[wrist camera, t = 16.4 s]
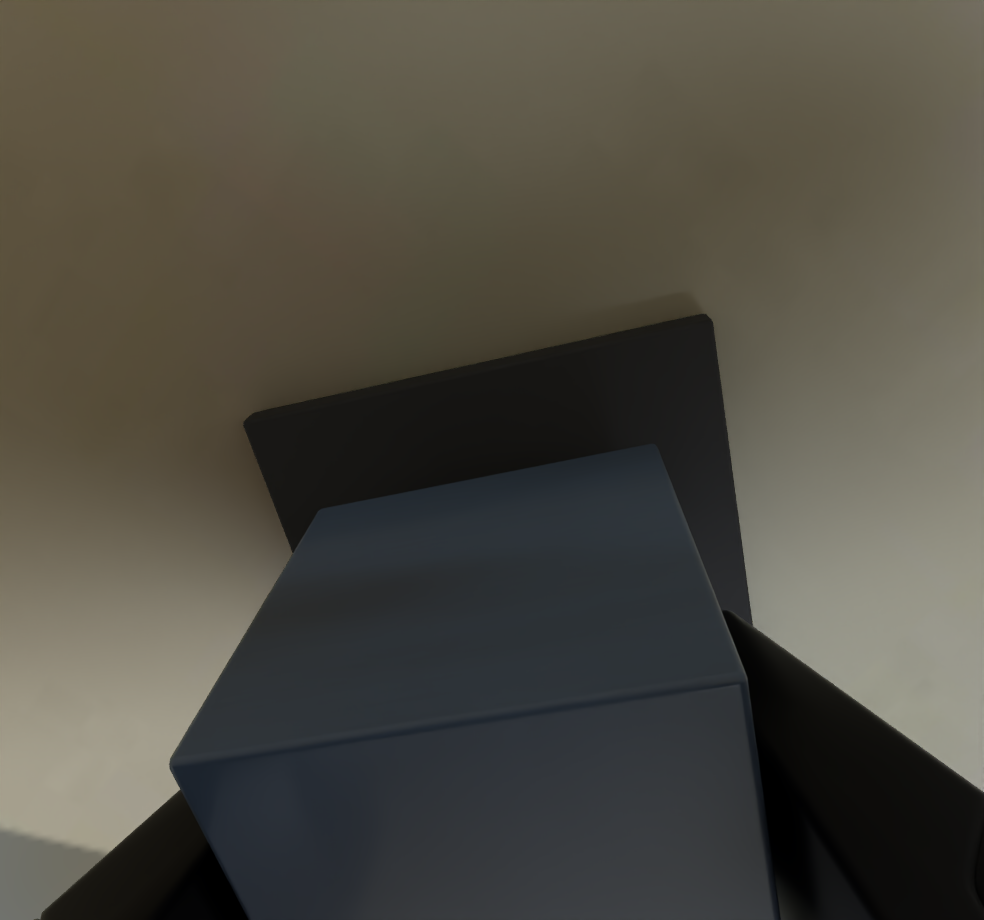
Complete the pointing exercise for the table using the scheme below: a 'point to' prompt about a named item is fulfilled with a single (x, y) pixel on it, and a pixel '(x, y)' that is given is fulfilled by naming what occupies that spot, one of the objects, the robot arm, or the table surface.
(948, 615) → the table surface
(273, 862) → the block
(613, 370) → the mat
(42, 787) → the table surface
